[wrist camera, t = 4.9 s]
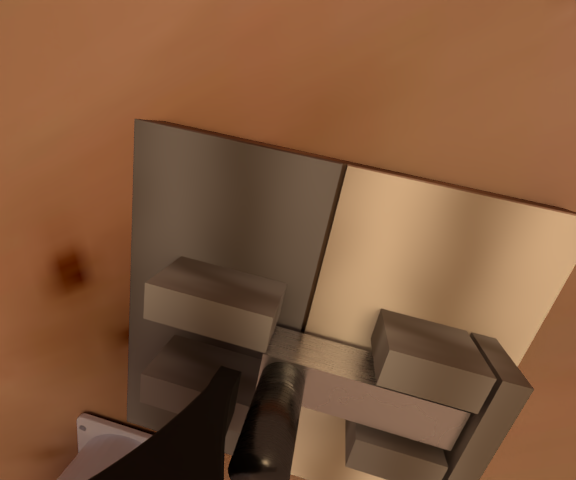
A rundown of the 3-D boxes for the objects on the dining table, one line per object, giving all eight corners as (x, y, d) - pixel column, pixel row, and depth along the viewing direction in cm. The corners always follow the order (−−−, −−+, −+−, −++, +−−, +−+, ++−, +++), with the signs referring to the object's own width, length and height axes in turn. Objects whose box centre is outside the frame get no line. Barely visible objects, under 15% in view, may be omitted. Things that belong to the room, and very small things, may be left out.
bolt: (266, 359, 15) (221, 488, 9) (273, 325, 14) (229, 442, 9) (436, 409, 14) (494, 579, 9) (453, 374, 13) (526, 536, 8)
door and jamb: (149, 391, 21) (90, 468, 16) (165, 121, 15) (80, 114, 10) (424, 477, 19) (451, 591, 14) (563, 208, 13) (687, 249, 8)
